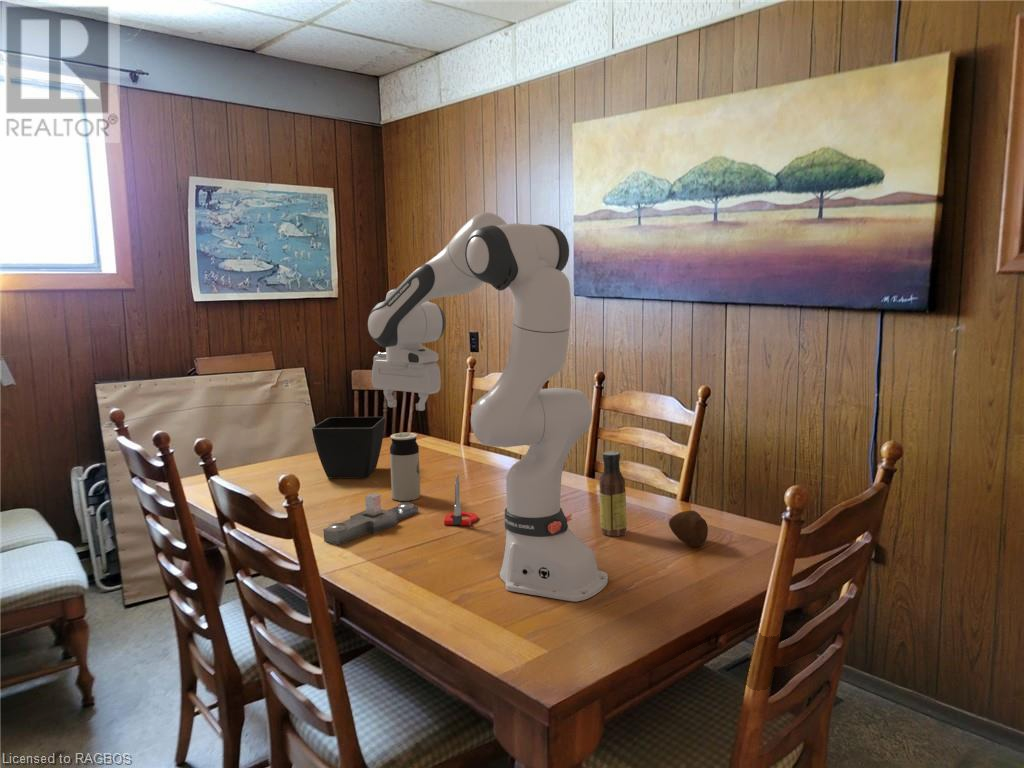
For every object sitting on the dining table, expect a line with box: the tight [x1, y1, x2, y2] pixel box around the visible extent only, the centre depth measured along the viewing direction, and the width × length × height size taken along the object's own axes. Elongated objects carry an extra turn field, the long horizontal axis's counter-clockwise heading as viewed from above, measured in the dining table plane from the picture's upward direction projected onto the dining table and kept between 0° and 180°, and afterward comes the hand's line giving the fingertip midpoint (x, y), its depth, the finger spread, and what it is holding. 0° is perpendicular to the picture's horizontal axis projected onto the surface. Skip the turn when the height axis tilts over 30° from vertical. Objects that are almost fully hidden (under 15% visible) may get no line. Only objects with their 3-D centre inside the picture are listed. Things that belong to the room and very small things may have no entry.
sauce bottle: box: [599, 450, 628, 537], centre depth 173 cm, size 7×6×20 cm
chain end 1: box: [322, 508, 396, 546], centre depth 177 cm, size 8×18×4 cm, turn 146°
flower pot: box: [311, 416, 386, 479], centre depth 229 cm, size 19×19×17 cm
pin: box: [364, 492, 382, 518], centre depth 181 cm, size 3×3×8 cm
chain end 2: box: [369, 501, 419, 534], centre depth 186 cm, size 8×18×2 cm, turn 146°
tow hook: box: [443, 474, 479, 527], centre depth 184 cm, size 8×13×9 cm
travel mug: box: [389, 432, 421, 502], centre depth 203 cm, size 8×8×18 cm
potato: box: [668, 510, 709, 547], centre depth 166 cm, size 7×10×8 cm
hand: (406, 408), depth 181 cm, fingers open, 8 cm apart
